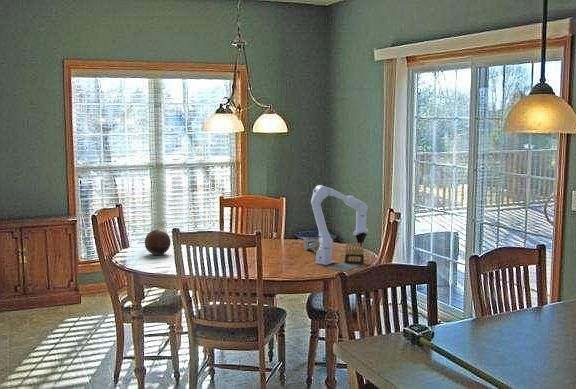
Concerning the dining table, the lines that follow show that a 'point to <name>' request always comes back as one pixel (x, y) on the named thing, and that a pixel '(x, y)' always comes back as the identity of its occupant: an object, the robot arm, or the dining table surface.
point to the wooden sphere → (157, 242)
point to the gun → (311, 244)
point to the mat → (343, 266)
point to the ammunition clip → (353, 257)
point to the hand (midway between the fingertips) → (360, 246)
